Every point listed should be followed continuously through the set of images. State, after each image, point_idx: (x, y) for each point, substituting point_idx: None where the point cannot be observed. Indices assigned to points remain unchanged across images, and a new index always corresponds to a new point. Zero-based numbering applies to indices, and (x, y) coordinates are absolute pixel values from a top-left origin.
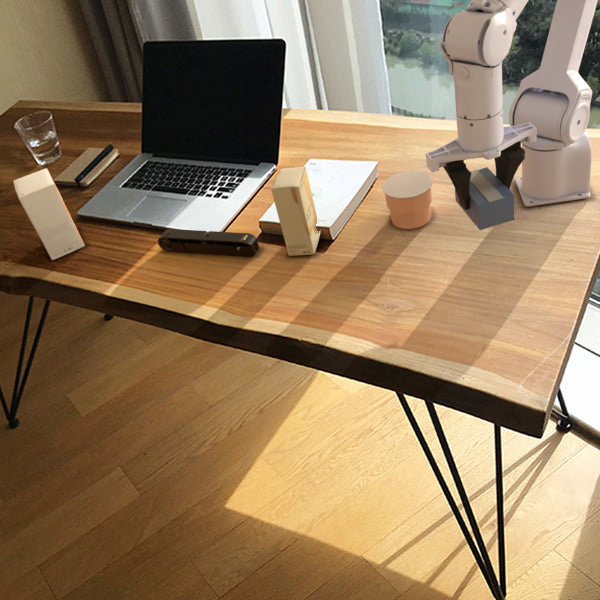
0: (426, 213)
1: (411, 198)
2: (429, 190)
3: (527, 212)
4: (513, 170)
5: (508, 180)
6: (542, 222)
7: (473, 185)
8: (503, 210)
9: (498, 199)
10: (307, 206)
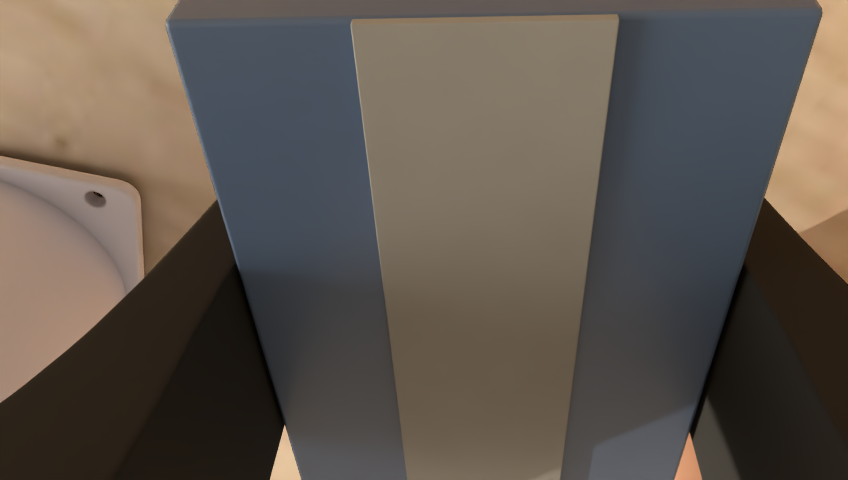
0: None
1: None
2: (695, 472)
3: (137, 140)
4: (32, 427)
5: (171, 312)
6: (61, 11)
7: (575, 404)
8: None
9: (446, 17)
10: None
